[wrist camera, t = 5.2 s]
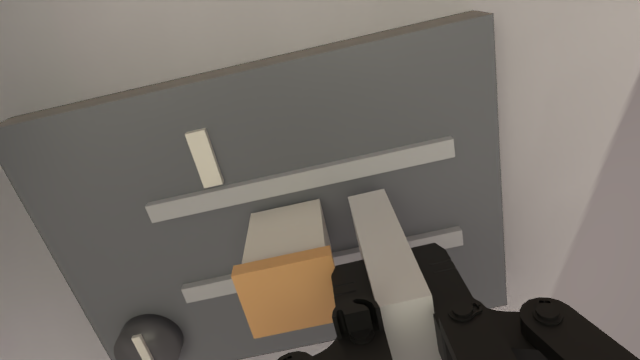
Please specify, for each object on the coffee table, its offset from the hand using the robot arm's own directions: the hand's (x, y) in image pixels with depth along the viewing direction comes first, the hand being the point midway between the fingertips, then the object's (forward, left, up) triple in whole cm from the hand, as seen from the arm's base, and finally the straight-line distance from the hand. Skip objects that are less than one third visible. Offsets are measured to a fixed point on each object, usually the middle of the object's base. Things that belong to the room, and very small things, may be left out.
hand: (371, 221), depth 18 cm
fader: (-3, 0, -1) cm, 4 cm away
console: (-4, 0, -3) cm, 5 cm away
